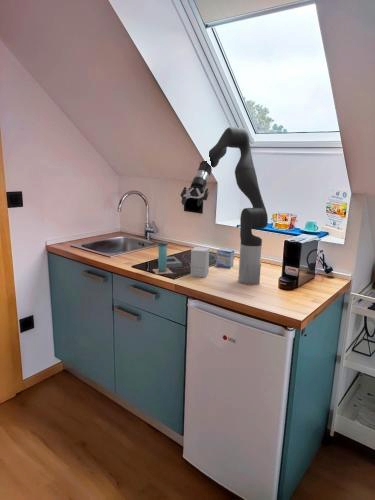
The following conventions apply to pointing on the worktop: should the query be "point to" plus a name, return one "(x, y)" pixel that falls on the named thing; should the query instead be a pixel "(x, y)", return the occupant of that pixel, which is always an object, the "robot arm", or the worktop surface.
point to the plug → (162, 256)
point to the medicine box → (225, 258)
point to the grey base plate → (173, 262)
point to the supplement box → (199, 262)
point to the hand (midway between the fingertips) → (190, 204)
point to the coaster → (162, 272)
